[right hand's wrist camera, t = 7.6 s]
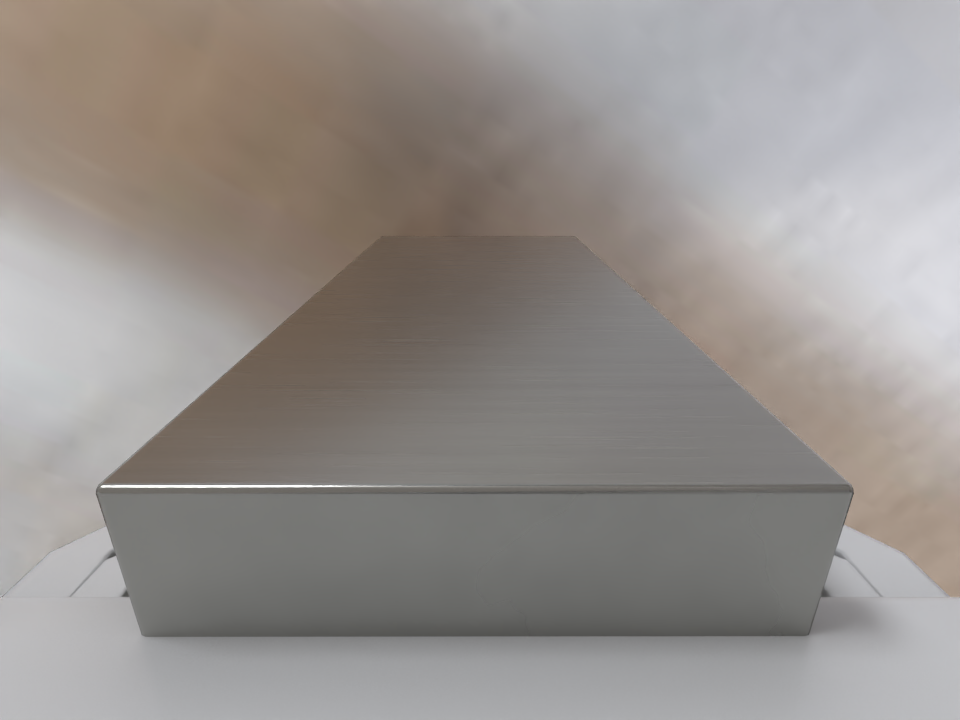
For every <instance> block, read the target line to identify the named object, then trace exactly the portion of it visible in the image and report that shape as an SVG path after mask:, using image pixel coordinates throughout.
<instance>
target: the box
mask: <svg viewBox="0 0 960 720" xmlns="http://www.w3.org/2000/svg"><path fill="white" fill-rule="evenodd" d="M853 494H854V492H853V487H852V485H851V484H850V483H849V482H848V481H847V480H845V479H844V478H843V477H842V476H841V475H840V474H839V473H838V472H837V471H835V470H834V469H833V468H832V467H831V466H830V465H829V464H828V463H827V462H825V461H824V460H823V459H822V458H821V457H820V456H819V455H818V454H817V453H815V452H814V451H813V450H812V449H811V448H810V447H809V446H808V445H807V444H805V443H804V442H803V441H802V440H801V439H800V438H799V437H798V436H796V435H795V434H794V433H793V432H792V431H791V430H790V429H789V428H788V427H786V426H785V425H784V424H783V423H782V422H781V421H780V420H779V419H778V418H776V417H775V416H774V415H773V414H772V413H771V412H770V411H769V410H768V409H766V408H765V407H764V406H763V405H762V404H761V403H760V402H759V401H758V400H756V399H755V398H754V397H753V396H752V395H751V394H750V393H749V392H748V391H746V390H745V389H744V388H743V387H742V386H741V385H740V384H739V383H737V382H736V381H735V380H734V379H733V378H732V377H731V376H730V375H729V374H727V373H726V372H725V371H724V370H723V369H722V368H721V367H720V366H719V365H717V364H716V363H715V362H714V361H713V360H712V359H711V358H710V357H709V356H707V355H706V354H705V353H704V352H703V351H702V350H701V349H700V348H699V347H697V346H696V345H695V344H694V343H693V342H692V341H691V340H690V339H689V338H687V337H686V336H685V335H684V334H683V333H682V332H681V331H680V330H678V329H677V328H676V327H675V326H674V325H673V324H672V323H671V322H670V321H668V320H667V319H666V318H665V317H664V316H663V315H662V314H661V313H660V312H658V311H657V310H656V309H655V308H654V307H653V306H652V305H651V304H650V303H648V302H647V301H646V300H645V299H644V298H643V297H642V296H641V295H640V294H638V293H637V292H636V291H635V290H634V289H633V288H632V287H631V286H630V285H628V284H627V283H626V282H625V281H624V280H623V279H622V278H621V277H619V276H618V275H617V274H616V273H615V272H614V271H613V270H612V269H611V268H609V267H608V266H607V265H606V264H605V263H604V262H603V261H602V260H601V259H599V258H598V257H597V256H596V255H595V254H594V253H593V252H592V251H591V250H589V249H588V248H587V247H586V246H585V245H584V244H583V243H582V242H581V241H579V240H578V239H577V238H576V237H574V236H382V237H380V238H379V239H378V240H377V241H375V242H374V243H373V244H372V245H371V246H370V247H369V248H368V249H366V250H365V251H364V252H363V253H362V254H361V255H360V256H358V257H357V258H356V259H355V260H354V261H353V262H352V263H350V264H349V265H348V266H347V267H346V268H345V269H344V270H342V271H341V272H340V273H339V274H338V275H337V276H336V277H335V278H333V279H332V280H331V281H330V282H329V283H328V284H327V285H325V286H324V287H323V288H322V289H321V290H320V291H319V292H317V293H316V294H315V295H314V296H313V297H312V298H311V299H310V300H308V301H307V302H306V303H305V304H304V305H303V306H302V307H300V308H299V309H298V310H297V311H296V312H295V313H294V314H292V315H291V316H290V317H289V318H288V319H287V320H286V321H284V322H283V323H282V324H281V325H280V326H279V327H278V328H277V329H275V330H274V331H273V332H272V333H271V334H270V335H269V336H267V337H266V338H265V339H264V340H263V341H262V342H261V343H259V344H258V345H257V346H256V347H255V348H254V349H253V350H251V351H250V352H249V353H248V354H247V355H246V356H245V357H244V358H242V359H241V360H240V361H239V362H238V363H237V364H236V365H234V366H233V367H232V368H231V369H230V370H229V371H228V372H226V373H225V374H224V375H223V376H222V377H221V378H220V379H218V380H217V381H216V382H215V383H214V384H213V385H212V386H211V387H209V388H208V389H207V390H206V391H205V392H204V393H203V394H201V395H200V396H199V397H198V398H197V399H196V400H195V401H193V402H192V403H191V404H190V405H189V406H188V407H187V408H185V409H184V410H183V411H182V412H181V413H180V414H179V415H178V416H176V417H175V418H174V419H173V420H172V421H171V422H170V423H168V424H167V425H166V426H165V427H164V428H163V429H162V430H160V431H159V432H158V433H157V434H156V435H155V436H154V437H152V438H151V439H150V440H149V441H148V442H147V443H146V444H145V445H143V446H142V447H141V448H140V449H139V450H138V451H137V452H135V453H134V454H133V455H132V456H131V457H130V458H129V459H127V460H126V461H125V462H124V463H123V464H122V465H121V466H119V467H118V468H117V469H116V470H115V471H114V472H113V473H112V474H110V475H109V476H108V477H107V478H106V479H105V480H104V481H102V482H101V483H100V484H99V485H98V487H97V490H96V495H97V498H98V501H99V504H100V508H101V511H102V514H103V517H104V520H105V523H106V526H107V529H108V532H109V535H110V539H111V542H112V545H113V548H114V551H115V554H116V557H117V560H118V563H119V566H120V569H121V573H122V576H123V579H124V582H125V585H126V588H127V591H128V594H129V597H130V600H131V604H132V607H133V610H134V613H135V616H136V619H137V622H138V625H139V628H140V631H141V634H142V636H145V637H492V636H807V635H809V633H810V630H811V627H812V624H813V621H814V617H815V614H816V611H817V608H818V605H819V602H820V598H821V595H822V592H823V589H824V586H825V583H826V579H827V576H828V573H829V570H830V567H831V564H832V560H833V557H834V554H835V551H836V548H837V545H838V541H839V538H840V535H841V532H842V529H843V526H844V522H845V519H846V516H847V513H848V510H849V507H850V503H851V500H852V497H853Z"/></svg>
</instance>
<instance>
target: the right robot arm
mask: <svg viewBox="0 0 960 720" xmlns="http://www.w3.org/2000/svg"><path fill="white" fill-rule="evenodd" d="M0 720H960V597H950V596H949V595H948V594H947V593H945V592H944V591H943V590H942V589H941V588H940V587H939V586H938V585H937V584H936V583H935V582H934V581H933V580H932V579H931V578H930V577H929V576H928V575H927V574H925V573H924V572H923V571H922V570H921V569H920V568H919V567H918V566H917V565H916V564H915V563H914V562H913V561H912V560H911V559H910V558H909V557H908V556H907V555H905V554H904V553H903V552H901V551H899V550H896V549H894V548H892V547H890V546H888V545H886V544H884V543H882V542H880V541H878V540H875V539H873V538H871V537H869V536H867V535H865V534H863V533H861V532H859V531H857V530H854V529H852V528H850V527H848V526H846V525H844V526H843V529H842V532H841V535H840V538H839V541H838V545H837V548H836V551H835V554H834V557H833V560H832V564H831V567H830V570H829V573H828V576H827V579H826V583H825V586H824V589H823V592H822V595H821V598H820V602H819V605H818V608H817V611H816V614H815V617H814V621H813V624H812V627H811V630H810V633H809V635H807V636H492V637H145V636H142V634H141V631H140V628H139V625H138V622H137V619H136V616H135V613H134V610H133V607H132V604H131V600H130V597H129V594H128V591H127V588H126V585H125V582H124V579H123V576H122V573H121V569H120V566H119V563H118V560H117V557H116V554H115V551H114V548H113V545H112V542H111V539H110V535H109V532H108V529H107V526H105V527H103V528H101V529H99V530H96V531H94V532H92V533H90V534H88V535H86V536H84V537H81V538H79V539H77V540H75V541H73V542H71V543H69V544H67V545H64V546H62V547H60V548H58V549H56V550H54V551H52V552H50V553H49V554H48V555H47V556H45V557H44V558H43V559H42V560H41V561H40V562H39V563H38V564H37V565H36V566H35V567H34V568H33V569H31V570H30V571H29V572H28V573H27V574H26V575H25V576H24V577H23V578H22V579H21V580H20V581H19V582H17V583H16V584H15V585H14V586H13V587H12V588H11V589H10V590H9V591H8V592H7V593H6V594H5V595H3V596H2V597H0Z"/></svg>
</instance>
